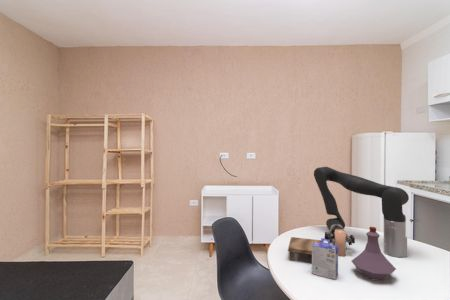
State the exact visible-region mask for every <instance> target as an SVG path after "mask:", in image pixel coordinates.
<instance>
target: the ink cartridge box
mask: <svg viewBox="0 0 450 300" xmlns="http://www.w3.org/2000/svg"><path fill="white" fill-rule="evenodd" d="M320 240H321V243H316V242H315V243H314V244H313V245H312V254H311V274H313V275H316V276H320V277H324V278H329V279H332V280H337V277H338V276H339V256H338V246H335V244H334V245H333V244H331V243H330V240H328V239H325V238H323V237H321V239H320ZM322 241H323V242H322ZM324 241H325V242H324Z"/></svg>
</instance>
